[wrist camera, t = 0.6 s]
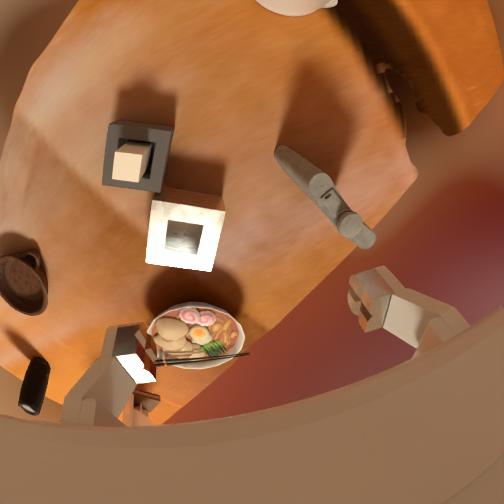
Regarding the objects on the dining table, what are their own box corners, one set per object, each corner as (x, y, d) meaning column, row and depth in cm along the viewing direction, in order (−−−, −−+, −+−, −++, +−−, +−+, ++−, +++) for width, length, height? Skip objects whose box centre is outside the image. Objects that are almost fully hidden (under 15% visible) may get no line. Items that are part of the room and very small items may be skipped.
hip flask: (333, 196, 55) (387, 247, 38) (319, 209, 56) (368, 265, 39) (282, 141, 47) (330, 173, 30) (267, 157, 48) (306, 197, 31)
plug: (131, 139, 41) (114, 151, 32) (153, 142, 42) (142, 154, 34) (127, 161, 43) (111, 179, 34) (149, 164, 44) (138, 182, 35)
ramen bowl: (245, 278, 62) (251, 303, 55) (244, 343, 74) (249, 366, 67) (134, 286, 58) (128, 312, 51) (155, 350, 70) (153, 374, 63)
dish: (-4, 284, 50) (-11, 296, 46) (9, 225, 43) (-2, 236, 39) (44, 317, 58) (38, 330, 54) (65, 265, 52) (57, 278, 48)
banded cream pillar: (150, 407, 88) (152, 490, 60) (124, 400, 84) (121, 485, 55) (160, 396, 84) (163, 487, 55) (132, 388, 80) (129, 482, 51)
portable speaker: (51, 360, 67) (38, 410, 51) (52, 373, 71) (41, 420, 55) (29, 351, 64) (14, 399, 48) (31, 365, 68) (19, 410, 51)
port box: (157, 185, 47) (152, 200, 41) (222, 196, 51) (225, 211, 45) (150, 242, 53) (145, 262, 47) (209, 250, 56) (210, 271, 51)
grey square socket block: (119, 119, 39) (108, 124, 34) (174, 127, 42) (171, 131, 37) (111, 174, 44) (101, 184, 39) (164, 181, 47) (160, 192, 42)
